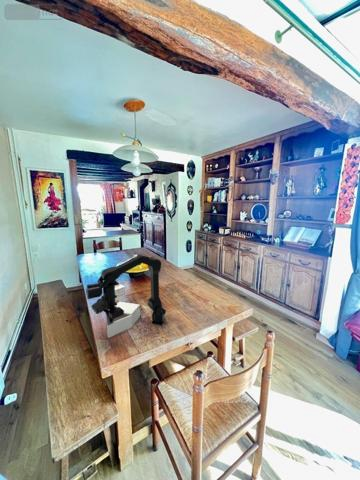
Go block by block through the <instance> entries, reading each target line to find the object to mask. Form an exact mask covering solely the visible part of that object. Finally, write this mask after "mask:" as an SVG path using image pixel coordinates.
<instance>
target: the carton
mask: <svg viewBox="0 0 360 480" xmlns="http://www.w3.org/2000/svg"><path fill="white" fill-rule="evenodd" d="M140 306H141V305H140V304H139V303H138V304H137V303H131V302H126V301H125V302H118V303H117V305H116V307H120V308H121V309H123V310H124V315H122V316H119V317H117V318H114V320H113V322H115V321H117V320H119V319H122V318H124V317H127V316H129V315H132V327H133V326H134V324H135V323H136V322H137V321H138V319H140V317H141V307H140Z"/></svg>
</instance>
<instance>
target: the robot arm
mask: <svg viewBox="0 0 360 480" xmlns="http://www.w3.org/2000/svg"><path fill="white" fill-rule="evenodd" d="M141 264H143V265H146V266H147V268H148V271H149V275H150V276H149V277H150V298H148V299H147V306H148V307H149V309H150V310H151V311H152V314H151V324H155V325H160V326H162V325H163V323H164V322H165V321H166V318H165V315H166V312H167V310H166V309H165V308H164V307H163V304H162V301H161V297H160V276H159V274H160V272H161V270H162V261H161V260H160V259H158V258H156V257H154V256H151V257H149V256H146V255H143V254H137V256H134V257H132V258H130V259H129V260H126V261H124V262H122V263H120V264H118V265H116V266H111V267H107V268H105V269H103V270H102V271H101V274H100V275H101V276H100V277H99V278H98V280H97V281H96V282H97V283H96V282H95V283H90V284H86V289H85V294H86V295H85V296H86V299H87V300H92V299H95V298H98V299H97V300H96V302H95V303H93V304H91V309H92V311H93V312H94V313H95V314H96V315H99V314H101V313H103V312H104V313H105V316H106V318H107V317H109V320H110V323H112V322H113V320H114V318H117V317H119V316H122V315H124V310H123V309H121V308H120V307H116V305H117V303H116V302H115V298H117V296H116V295H115V285H119V283H118V282H119V281H117V280H118V279H119V278H120V276H121V275H122V274H125V273H127V272H128V271H130V270H132V269H134V268H136V267H138V266H139V265H141Z"/></svg>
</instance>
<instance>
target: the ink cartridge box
mask: <svg viewBox="0 0 360 480" xmlns="http://www.w3.org/2000/svg"><path fill="white" fill-rule="evenodd" d="M117 282H118V283H119V285H115V295H116V296H117V298H115V302H116V303H118V302H125V303H126V286H125V285H123V284H122V281H121V280H119V281H117Z"/></svg>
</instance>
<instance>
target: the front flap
mask: <svg viewBox="0 0 360 480" xmlns="http://www.w3.org/2000/svg"><path fill="white" fill-rule="evenodd" d="M132 327H133V326H132V315H129V316H127V317H124V318H122V319H119V320H117V321H115V322H112V323H110V320H109V317H107V316H106V331H107V338H108V339H109V338H111V337H114V336H116V335H118V334H120V333H122V332H124V331H127V330H129V329H132Z"/></svg>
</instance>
